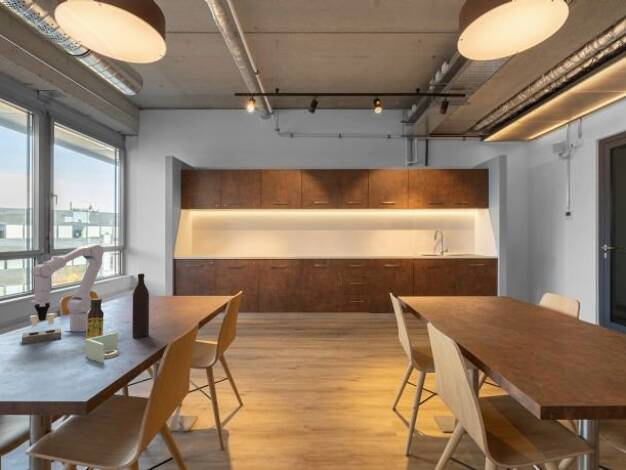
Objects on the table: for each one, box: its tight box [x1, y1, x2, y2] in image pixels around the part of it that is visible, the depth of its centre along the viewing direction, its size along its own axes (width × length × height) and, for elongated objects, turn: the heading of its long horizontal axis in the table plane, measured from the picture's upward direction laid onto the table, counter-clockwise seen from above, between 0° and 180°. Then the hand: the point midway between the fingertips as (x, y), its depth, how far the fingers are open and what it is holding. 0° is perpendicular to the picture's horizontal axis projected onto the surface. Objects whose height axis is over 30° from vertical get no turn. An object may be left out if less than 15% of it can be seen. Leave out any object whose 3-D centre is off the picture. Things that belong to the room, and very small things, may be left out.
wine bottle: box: [131, 273, 150, 339], centre depth 163 cm, size 7×7×30 cm
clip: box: [29, 312, 56, 327], centre depth 158 cm, size 9×3×4 cm, turn 129°
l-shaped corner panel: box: [85, 332, 119, 364], centre depth 137 cm, size 12×12×8 cm
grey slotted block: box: [21, 327, 62, 345], centre depth 158 cm, size 14×8×3 cm, turn 129°
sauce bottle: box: [85, 297, 105, 340], centre depth 152 cm, size 6×6×20 cm
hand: (42, 319), depth 158 cm, fingers closed on clip, 3 cm apart
